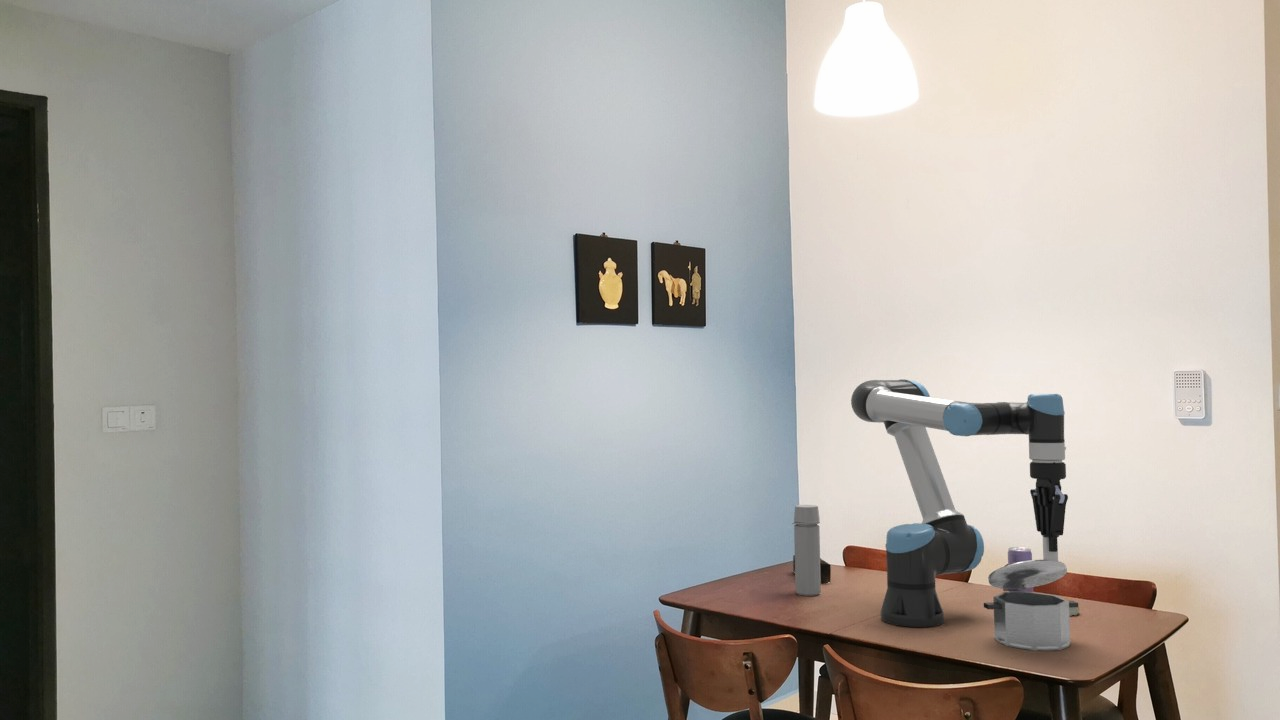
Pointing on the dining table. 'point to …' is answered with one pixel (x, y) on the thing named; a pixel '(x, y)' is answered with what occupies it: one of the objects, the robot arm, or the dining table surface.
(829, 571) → the beverage carton
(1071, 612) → the grey block
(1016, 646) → the pot
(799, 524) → the water bottle
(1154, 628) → the dining table surface
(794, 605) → the dining table surface
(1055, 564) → the lid
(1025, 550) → the beverage can
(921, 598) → the robot arm
